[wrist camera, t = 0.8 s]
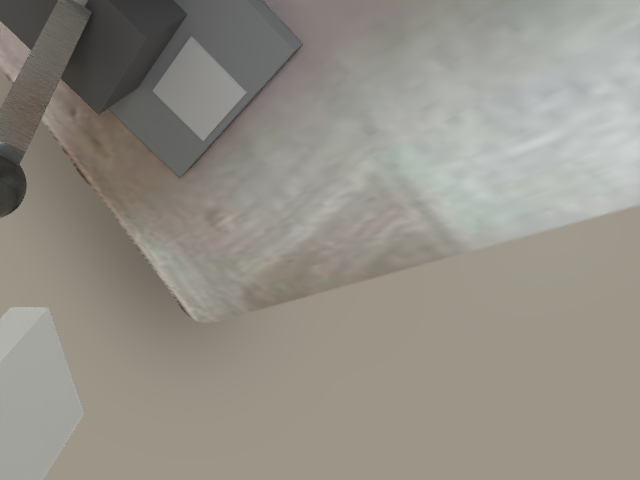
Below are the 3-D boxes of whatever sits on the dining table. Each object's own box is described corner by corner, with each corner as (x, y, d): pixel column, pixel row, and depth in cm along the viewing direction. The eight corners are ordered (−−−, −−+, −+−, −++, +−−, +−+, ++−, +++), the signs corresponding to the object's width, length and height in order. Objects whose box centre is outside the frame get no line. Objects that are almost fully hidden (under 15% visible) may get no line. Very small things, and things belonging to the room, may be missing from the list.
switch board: (302, 44, 39) (257, 83, 34) (187, 170, 50) (142, 212, 45) (27, -250, 35) (-63, -247, 30) (-32, -42, 45) (-104, -18, 41)
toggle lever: (106, 19, 37) (25, 201, 29) (75, 76, 40) (-3, 250, 33) (46, -16, 35) (-58, 166, 27) (19, 47, 39) (-78, 222, 31)
